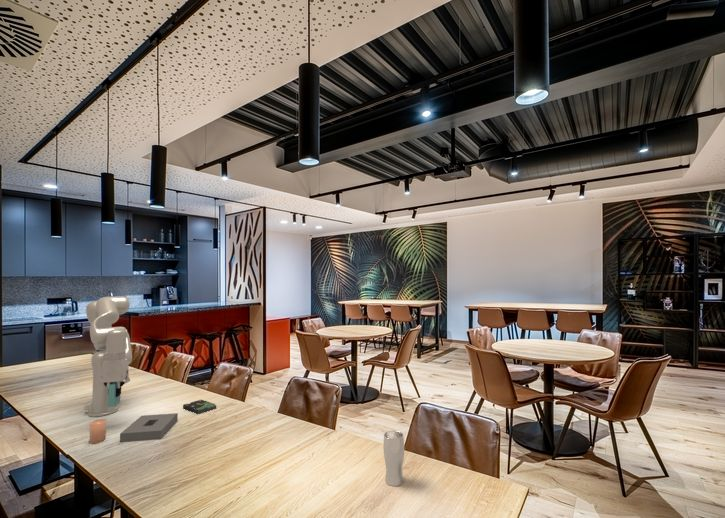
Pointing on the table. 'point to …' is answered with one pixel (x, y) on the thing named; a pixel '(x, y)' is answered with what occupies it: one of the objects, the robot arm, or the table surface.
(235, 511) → the table surface
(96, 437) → the round terracotta peg
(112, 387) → the teal bar
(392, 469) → the beer glass
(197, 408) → the disk drive
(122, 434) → the socket plate
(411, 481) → the table surface
